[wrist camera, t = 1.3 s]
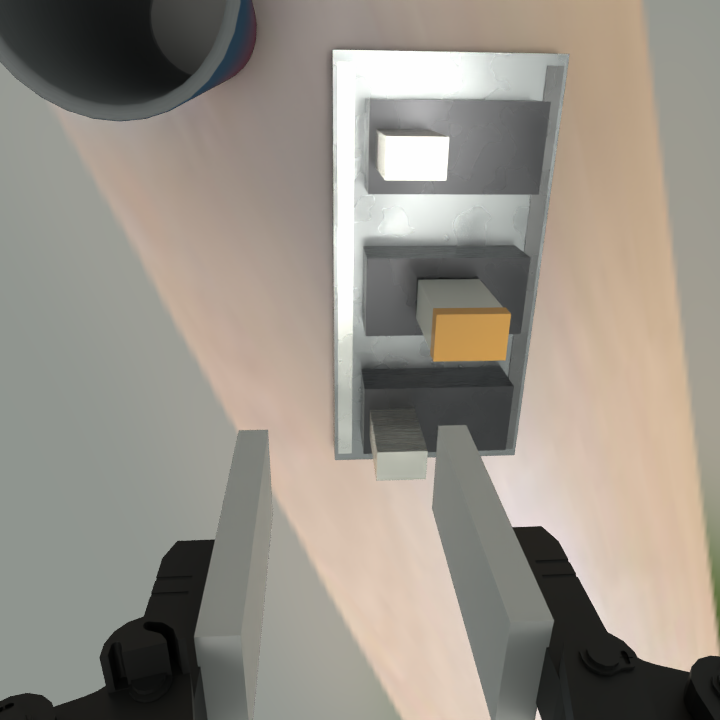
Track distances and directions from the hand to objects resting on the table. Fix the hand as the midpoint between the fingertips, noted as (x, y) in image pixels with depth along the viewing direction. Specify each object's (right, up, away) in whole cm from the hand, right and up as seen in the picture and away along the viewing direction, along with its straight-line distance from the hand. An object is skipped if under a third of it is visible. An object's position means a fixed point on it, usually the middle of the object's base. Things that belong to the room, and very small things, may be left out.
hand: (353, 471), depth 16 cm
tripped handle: (+4, +6, +14) cm, 15 cm away
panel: (+4, +8, +17) cm, 19 cm away
